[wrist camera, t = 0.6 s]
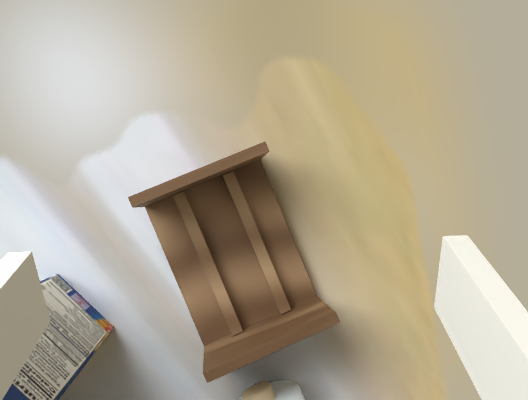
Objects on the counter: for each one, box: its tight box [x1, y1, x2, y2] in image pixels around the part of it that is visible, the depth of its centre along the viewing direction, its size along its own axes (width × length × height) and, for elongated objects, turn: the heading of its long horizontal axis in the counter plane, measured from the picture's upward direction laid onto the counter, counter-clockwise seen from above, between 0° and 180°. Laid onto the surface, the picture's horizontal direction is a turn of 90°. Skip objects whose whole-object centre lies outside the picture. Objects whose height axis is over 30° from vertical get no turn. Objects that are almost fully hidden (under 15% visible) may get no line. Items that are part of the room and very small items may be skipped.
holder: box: [128, 142, 340, 383], centre depth 41 cm, size 15×11×8 cm
